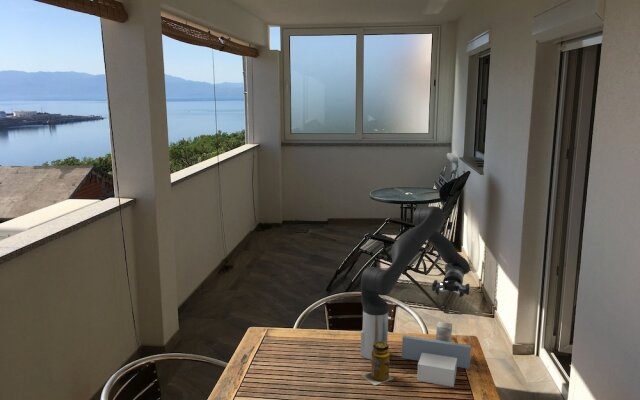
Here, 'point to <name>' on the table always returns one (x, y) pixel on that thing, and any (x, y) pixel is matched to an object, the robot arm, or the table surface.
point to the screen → (435, 349)
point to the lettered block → (444, 331)
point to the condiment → (379, 364)
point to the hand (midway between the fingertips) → (449, 293)
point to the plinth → (437, 369)
